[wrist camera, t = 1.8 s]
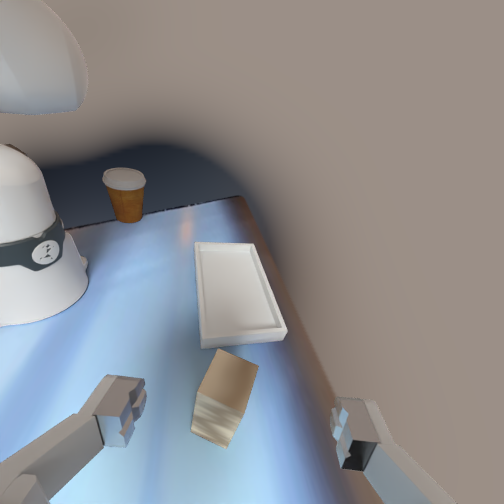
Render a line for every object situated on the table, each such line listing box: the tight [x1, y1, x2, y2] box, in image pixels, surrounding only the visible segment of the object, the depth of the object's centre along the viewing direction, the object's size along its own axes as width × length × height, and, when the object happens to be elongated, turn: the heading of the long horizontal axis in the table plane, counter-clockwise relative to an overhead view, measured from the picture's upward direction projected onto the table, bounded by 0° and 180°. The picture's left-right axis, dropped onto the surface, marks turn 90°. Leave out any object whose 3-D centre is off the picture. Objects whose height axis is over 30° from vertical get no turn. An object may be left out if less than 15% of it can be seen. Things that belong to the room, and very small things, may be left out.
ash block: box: [191, 348, 259, 449], centre depth 28 cm, size 5×5×12 cm
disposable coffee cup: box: [102, 168, 146, 223], centre depth 61 cm, size 10×10×12 cm
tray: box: [194, 242, 287, 349], centre depth 50 cm, size 26×15×3 cm, turn 14°
